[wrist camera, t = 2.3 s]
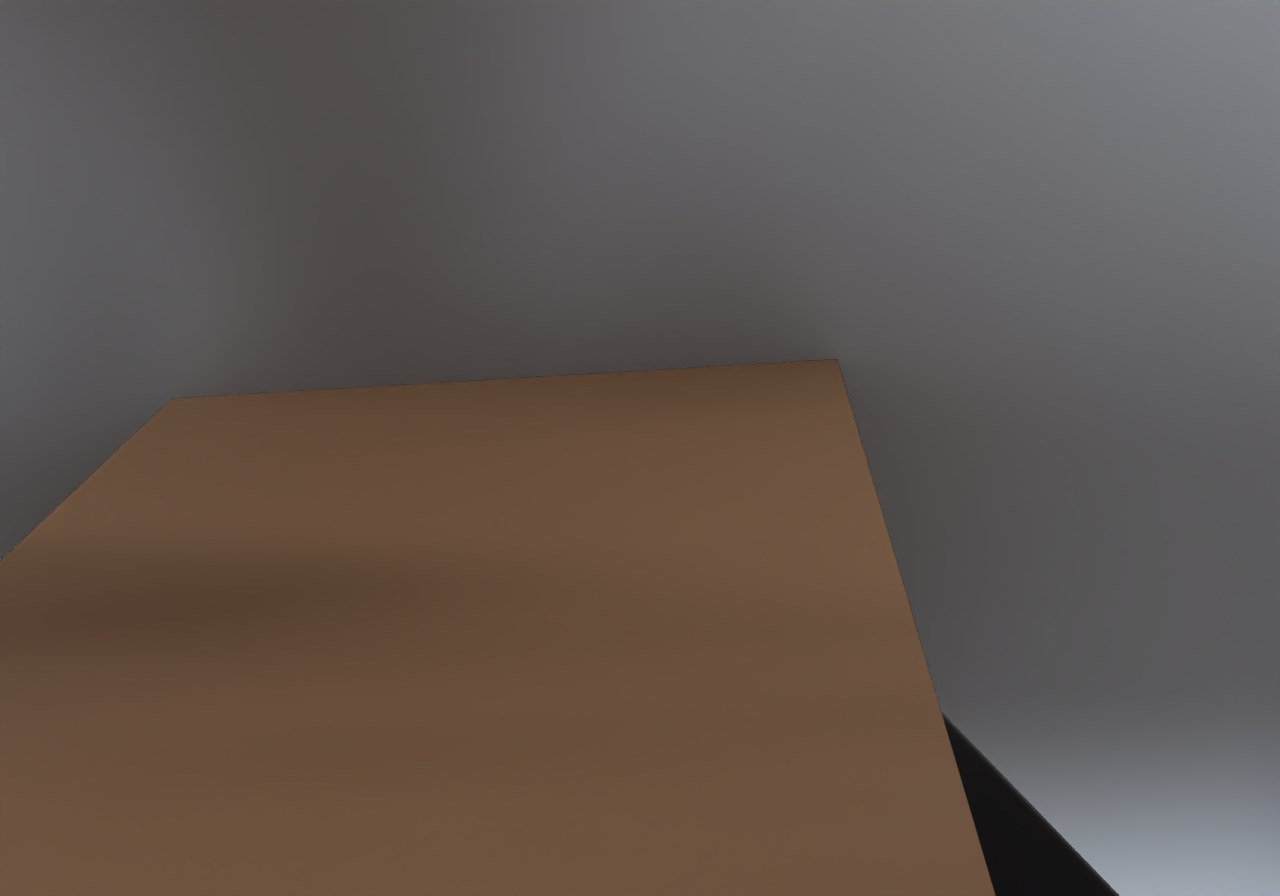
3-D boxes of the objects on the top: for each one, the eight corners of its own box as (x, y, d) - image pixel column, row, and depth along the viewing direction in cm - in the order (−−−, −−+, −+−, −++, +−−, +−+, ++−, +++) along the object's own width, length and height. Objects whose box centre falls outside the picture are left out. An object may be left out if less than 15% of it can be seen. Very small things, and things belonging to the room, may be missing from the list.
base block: (837, 849, 10) (946, 1612, 6) (320, 859, 10) (37, 1576, 6) (836, 355, 8) (1020, 981, 3) (174, 395, 8) (-461, 996, 4)
